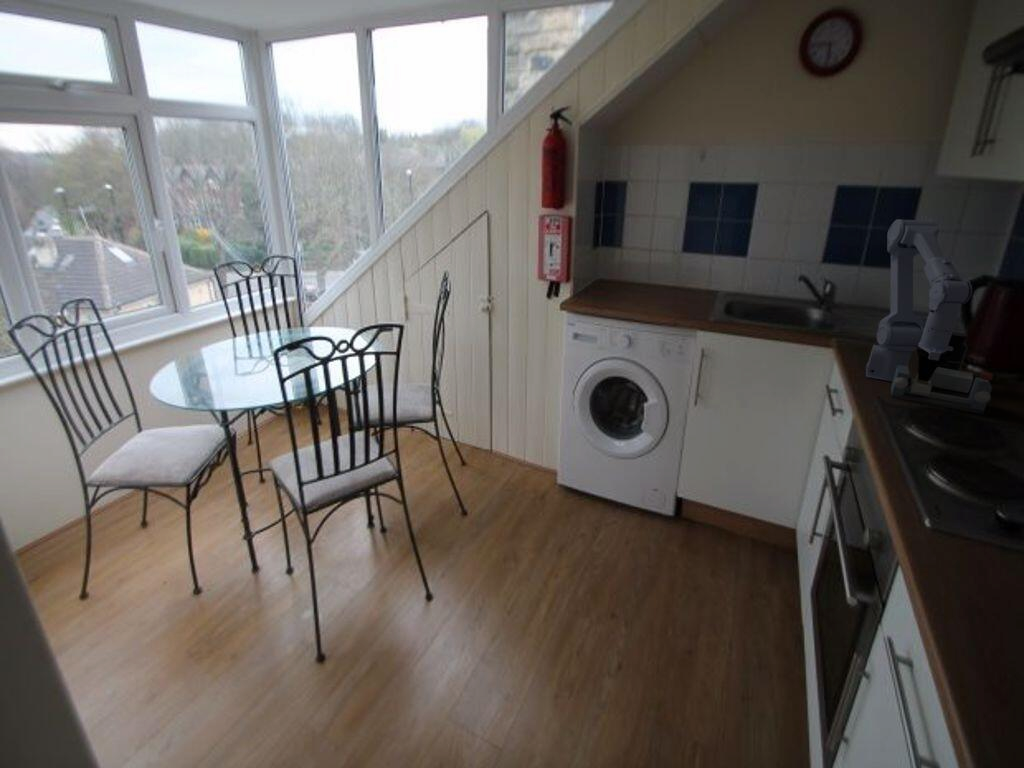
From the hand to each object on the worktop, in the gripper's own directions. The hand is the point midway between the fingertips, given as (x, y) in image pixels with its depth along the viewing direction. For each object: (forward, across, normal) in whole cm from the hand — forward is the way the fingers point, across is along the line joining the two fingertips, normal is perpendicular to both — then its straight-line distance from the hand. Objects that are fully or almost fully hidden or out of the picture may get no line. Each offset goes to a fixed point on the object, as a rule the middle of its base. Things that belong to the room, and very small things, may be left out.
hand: (922, 378), depth 140 cm
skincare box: (+3, +13, -12) cm, 18 cm away
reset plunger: (-3, 0, -12) cm, 12 cm away
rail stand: (+5, 0, -4) cm, 6 cm away
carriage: (+4, 0, 0) cm, 4 cm away
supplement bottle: (+5, +27, -8) cm, 29 cm away
